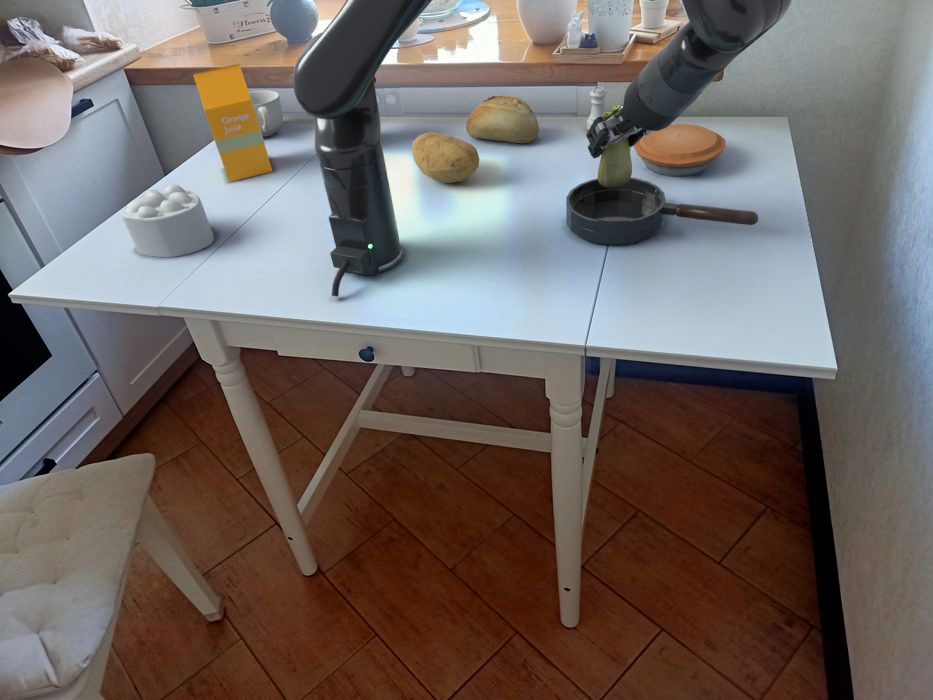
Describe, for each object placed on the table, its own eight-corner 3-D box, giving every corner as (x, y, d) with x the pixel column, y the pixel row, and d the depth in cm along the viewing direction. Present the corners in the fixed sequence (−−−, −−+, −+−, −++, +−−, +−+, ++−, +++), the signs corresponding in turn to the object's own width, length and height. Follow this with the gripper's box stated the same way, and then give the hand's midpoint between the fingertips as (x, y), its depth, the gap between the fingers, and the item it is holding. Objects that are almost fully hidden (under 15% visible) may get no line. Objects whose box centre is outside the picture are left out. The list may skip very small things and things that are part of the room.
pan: (650, 253, 105) (652, 228, 102) (553, 240, 111) (553, 215, 108) (672, 205, 115) (674, 181, 113) (582, 195, 121) (582, 172, 118)
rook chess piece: (612, 125, 142) (613, 85, 137) (603, 134, 139) (604, 93, 134) (592, 123, 144) (592, 83, 139) (582, 131, 141) (582, 91, 136)
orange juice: (273, 171, 142) (242, 69, 129) (228, 182, 140) (193, 80, 127) (266, 157, 148) (237, 58, 135) (224, 168, 146) (190, 68, 133)
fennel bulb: (624, 174, 111) (626, 97, 104) (640, 186, 107) (644, 107, 100) (590, 183, 110) (590, 106, 102) (605, 195, 106) (606, 117, 99)
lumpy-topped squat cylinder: (165, 223, 129) (147, 179, 123) (227, 228, 125) (210, 182, 120) (129, 254, 121) (108, 208, 116) (193, 259, 118) (174, 213, 112)
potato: (459, 199, 124) (454, 156, 119) (404, 181, 132) (397, 139, 127) (495, 177, 129) (492, 135, 124) (440, 161, 137) (435, 120, 132)
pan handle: (756, 228, 103) (758, 216, 101) (660, 217, 108) (661, 205, 107) (758, 221, 104) (760, 209, 103) (663, 211, 109) (664, 199, 108)
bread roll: (476, 127, 148) (473, 89, 143) (546, 130, 144) (544, 91, 138) (460, 146, 142) (455, 107, 137) (532, 150, 137) (530, 110, 132)
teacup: (238, 129, 162) (227, 94, 157) (285, 119, 164) (275, 84, 159) (242, 151, 152) (230, 115, 146) (292, 140, 153) (282, 104, 148)
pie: (639, 142, 135) (640, 116, 131) (726, 146, 130) (729, 119, 126) (625, 179, 124) (626, 152, 120) (719, 185, 119) (723, 156, 116)
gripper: (699, 48, 93) (640, 112, 109) (606, 74, 89) (559, 136, 105) (723, 99, 92) (659, 156, 108) (630, 128, 88) (578, 183, 104)
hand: (610, 146), depth 107 cm, fingers closed on fennel bulb, 5 cm apart
